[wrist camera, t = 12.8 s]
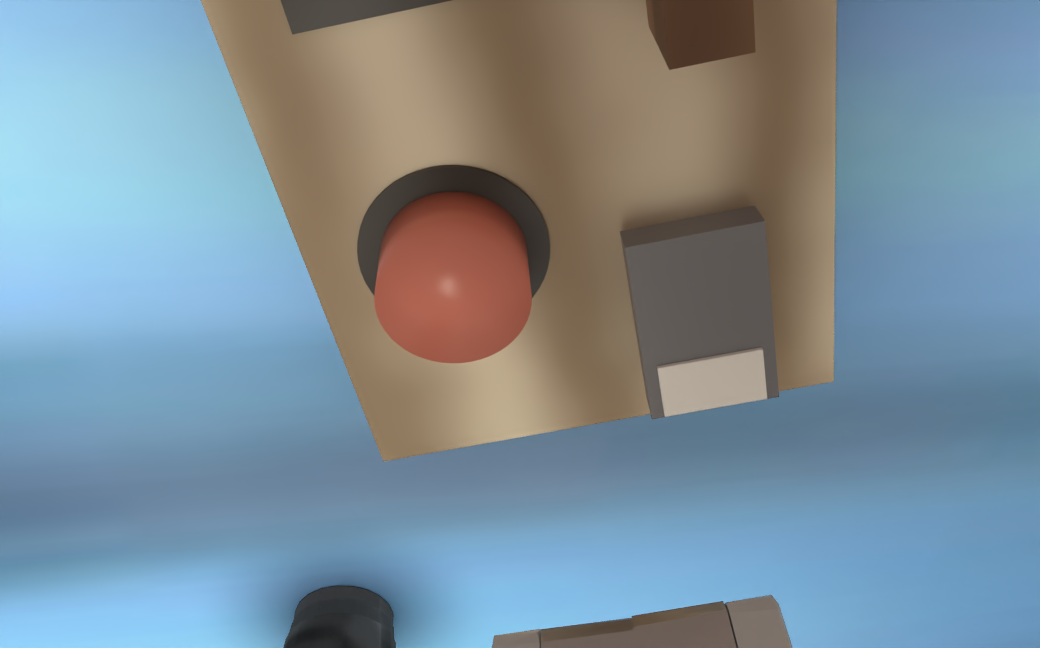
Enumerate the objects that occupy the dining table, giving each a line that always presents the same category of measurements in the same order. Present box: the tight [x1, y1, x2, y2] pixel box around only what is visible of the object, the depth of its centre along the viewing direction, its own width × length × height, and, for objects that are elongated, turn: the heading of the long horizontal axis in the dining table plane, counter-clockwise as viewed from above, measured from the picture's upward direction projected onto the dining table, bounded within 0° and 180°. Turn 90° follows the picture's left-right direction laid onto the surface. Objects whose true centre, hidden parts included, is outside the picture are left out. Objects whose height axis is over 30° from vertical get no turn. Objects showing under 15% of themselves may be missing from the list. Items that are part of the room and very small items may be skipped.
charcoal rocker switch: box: [620, 206, 779, 419], centre depth 28 cm, size 4×6×1 cm, turn 11°
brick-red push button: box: [374, 191, 532, 363], centre depth 27 cm, size 4×4×2 cm
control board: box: [201, 0, 837, 461], centre depth 28 cm, size 16×20×4 cm
